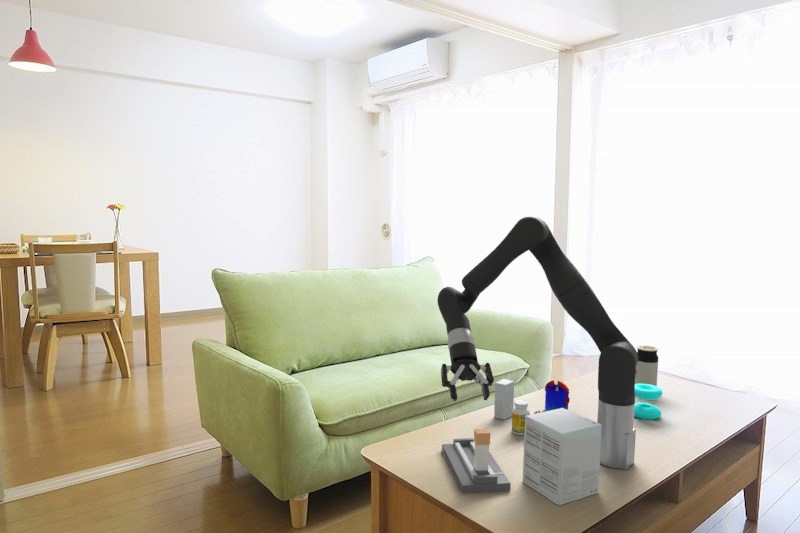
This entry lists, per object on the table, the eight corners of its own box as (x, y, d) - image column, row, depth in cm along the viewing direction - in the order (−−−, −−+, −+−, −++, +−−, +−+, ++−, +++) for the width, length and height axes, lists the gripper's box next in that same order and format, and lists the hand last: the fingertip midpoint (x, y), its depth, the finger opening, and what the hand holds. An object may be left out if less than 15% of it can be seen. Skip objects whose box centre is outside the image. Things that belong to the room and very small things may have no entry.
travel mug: (657, 392, 210) (660, 347, 208) (654, 398, 203) (657, 351, 202) (635, 389, 214) (637, 344, 212) (631, 394, 207) (634, 348, 206)
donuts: (635, 390, 180) (626, 381, 190) (634, 420, 181) (624, 409, 191) (667, 392, 179) (656, 383, 189) (665, 421, 180) (654, 411, 190)
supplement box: (560, 471, 144) (562, 406, 142) (599, 493, 133) (603, 424, 131) (521, 481, 138) (523, 414, 136) (559, 506, 126) (562, 433, 125)
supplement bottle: (520, 427, 173) (521, 398, 172) (532, 433, 169) (533, 403, 168) (507, 431, 170) (508, 401, 169) (520, 437, 166) (521, 406, 165)
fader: (472, 470, 138) (474, 429, 137) (485, 470, 139) (487, 428, 138) (476, 476, 135) (477, 433, 134) (489, 475, 136) (490, 433, 135)
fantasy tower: (531, 414, 186) (532, 379, 184) (550, 406, 193) (552, 373, 192) (561, 424, 177) (563, 388, 176) (581, 415, 185) (582, 381, 184)
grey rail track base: (441, 450, 155) (442, 438, 155) (482, 449, 157) (483, 437, 156) (462, 493, 132) (462, 479, 131) (510, 490, 133) (510, 476, 133)
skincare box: (502, 412, 187) (503, 378, 185) (513, 415, 184) (514, 380, 183) (493, 417, 182) (494, 382, 181) (504, 420, 179) (506, 385, 178)
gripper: (439, 341, 153) (447, 393, 143) (488, 340, 155) (499, 392, 145) (435, 354, 159) (442, 406, 149) (482, 353, 161) (493, 404, 151)
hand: (470, 399), depth 147 cm, fingers open, 8 cm apart
